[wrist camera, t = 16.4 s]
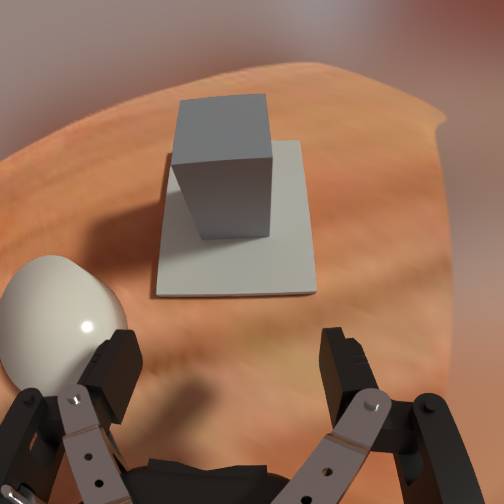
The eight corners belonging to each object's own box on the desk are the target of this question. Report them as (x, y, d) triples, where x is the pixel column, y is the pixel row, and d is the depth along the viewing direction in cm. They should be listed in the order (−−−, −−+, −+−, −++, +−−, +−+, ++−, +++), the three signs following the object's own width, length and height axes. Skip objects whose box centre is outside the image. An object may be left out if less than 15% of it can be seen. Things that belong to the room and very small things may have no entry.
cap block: (201, 240, 20) (170, 165, 13) (203, 184, 22) (180, 100, 14) (269, 236, 20) (272, 157, 13) (265, 180, 22) (265, 93, 14)
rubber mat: (159, 296, 19) (156, 294, 19) (175, 151, 24) (173, 146, 23) (315, 293, 19) (316, 291, 19) (299, 145, 24) (299, 140, 23)
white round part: (27, 387, 17) (-8, 384, 13) (37, 275, 20) (6, 256, 17) (127, 408, 17) (98, 414, 13) (133, 275, 20) (108, 253, 16)
